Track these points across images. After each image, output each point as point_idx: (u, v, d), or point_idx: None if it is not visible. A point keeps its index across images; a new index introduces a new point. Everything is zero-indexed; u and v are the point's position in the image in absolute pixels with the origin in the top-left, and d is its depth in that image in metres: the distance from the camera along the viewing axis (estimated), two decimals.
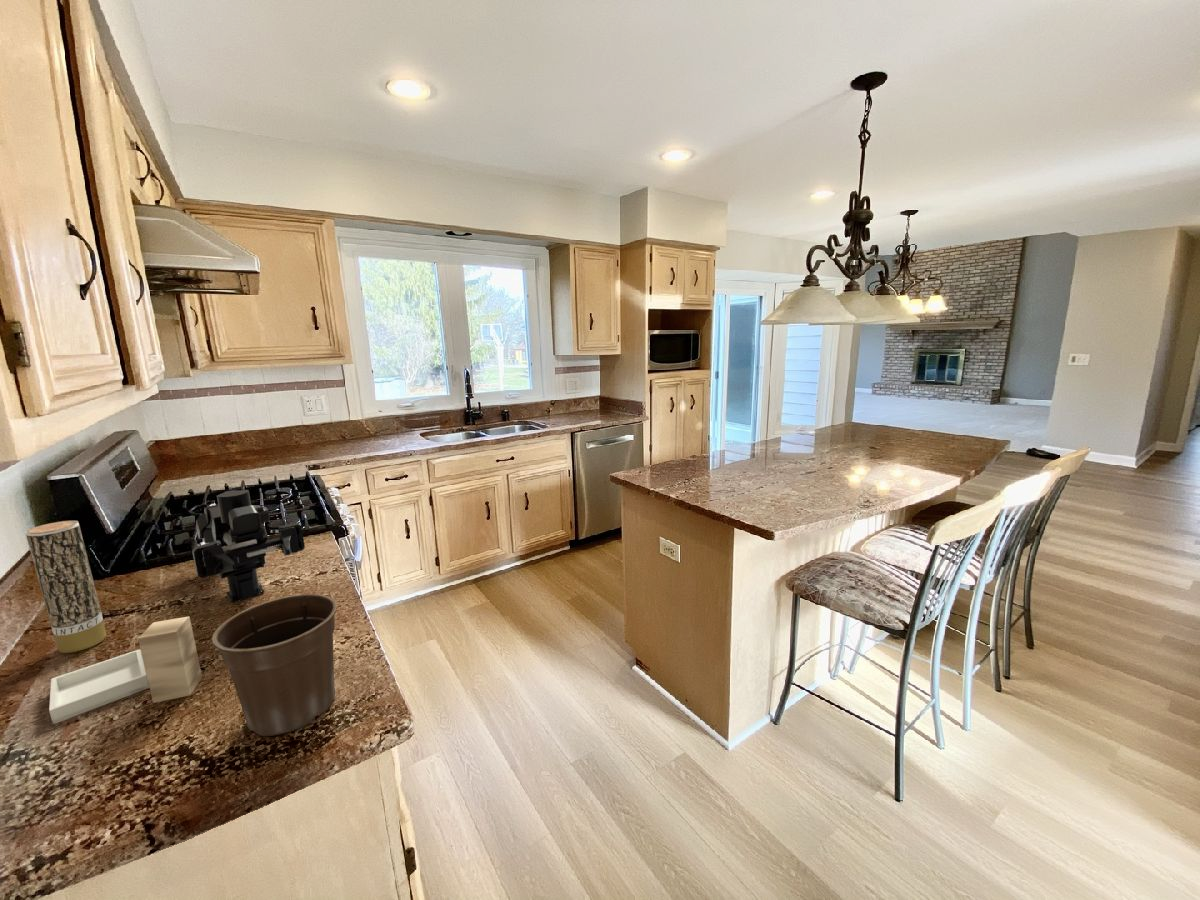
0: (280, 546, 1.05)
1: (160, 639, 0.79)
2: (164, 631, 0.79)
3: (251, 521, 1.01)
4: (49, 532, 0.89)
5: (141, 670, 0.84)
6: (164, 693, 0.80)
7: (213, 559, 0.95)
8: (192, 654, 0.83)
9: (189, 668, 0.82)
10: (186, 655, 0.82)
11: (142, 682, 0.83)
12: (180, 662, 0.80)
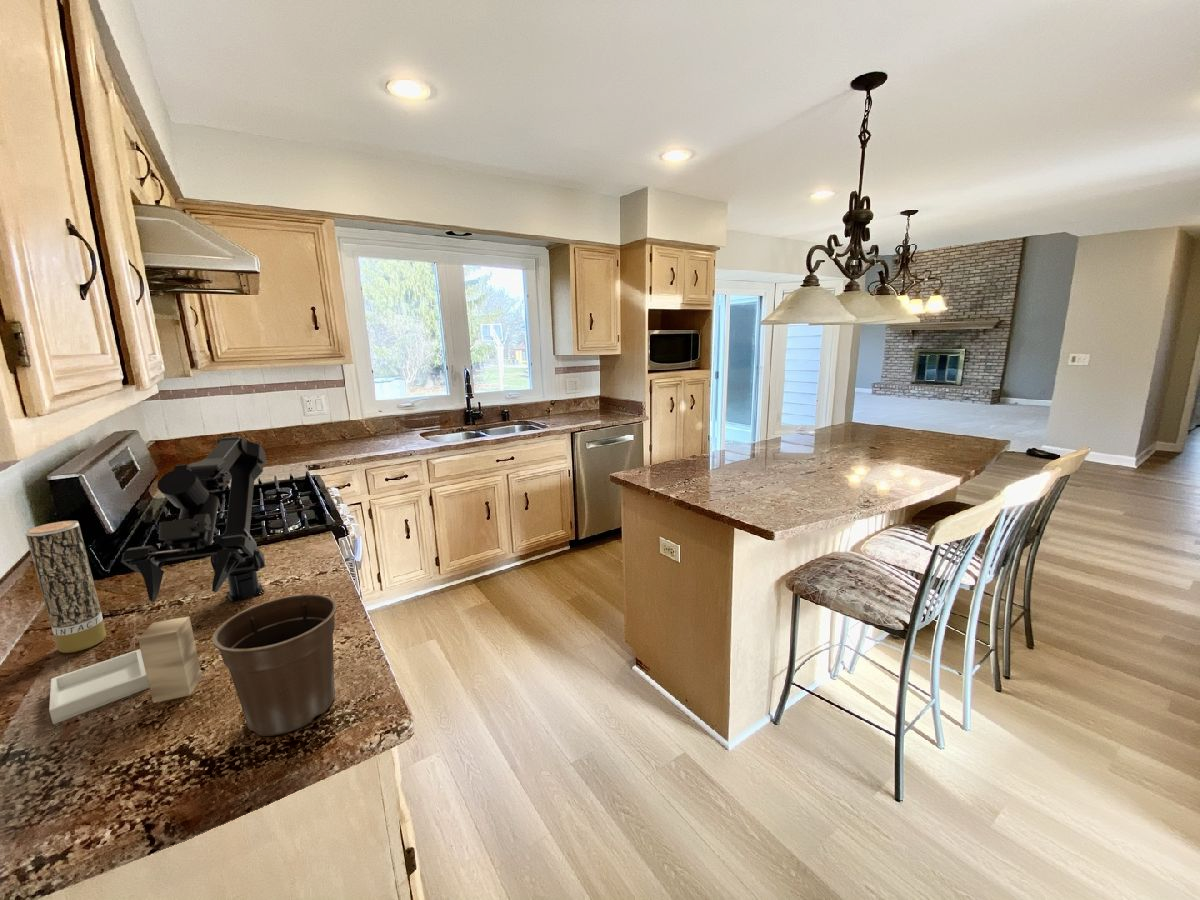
0: None
1: (161, 639, 0.79)
2: (164, 631, 0.79)
3: None
4: (49, 532, 0.89)
5: (141, 670, 0.84)
6: (164, 693, 0.80)
7: None
8: (192, 654, 0.83)
9: (189, 668, 0.82)
10: (186, 655, 0.82)
11: (142, 682, 0.83)
12: (180, 662, 0.80)
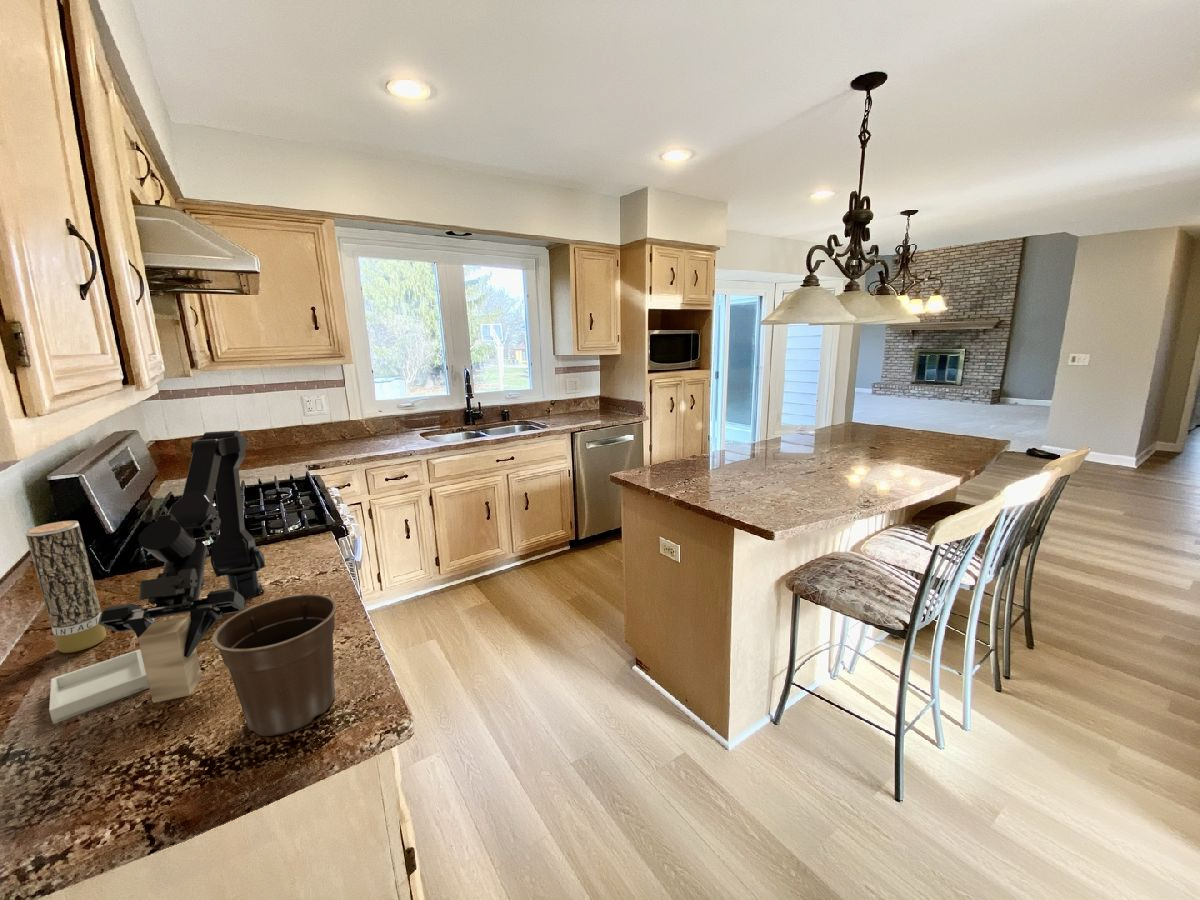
0: None
1: (160, 639, 0.79)
2: (164, 631, 0.79)
3: None
4: (49, 532, 0.89)
5: (141, 670, 0.84)
6: (164, 693, 0.80)
7: None
8: (192, 654, 0.83)
9: (189, 668, 0.82)
10: None
11: (142, 682, 0.83)
12: (180, 662, 0.80)
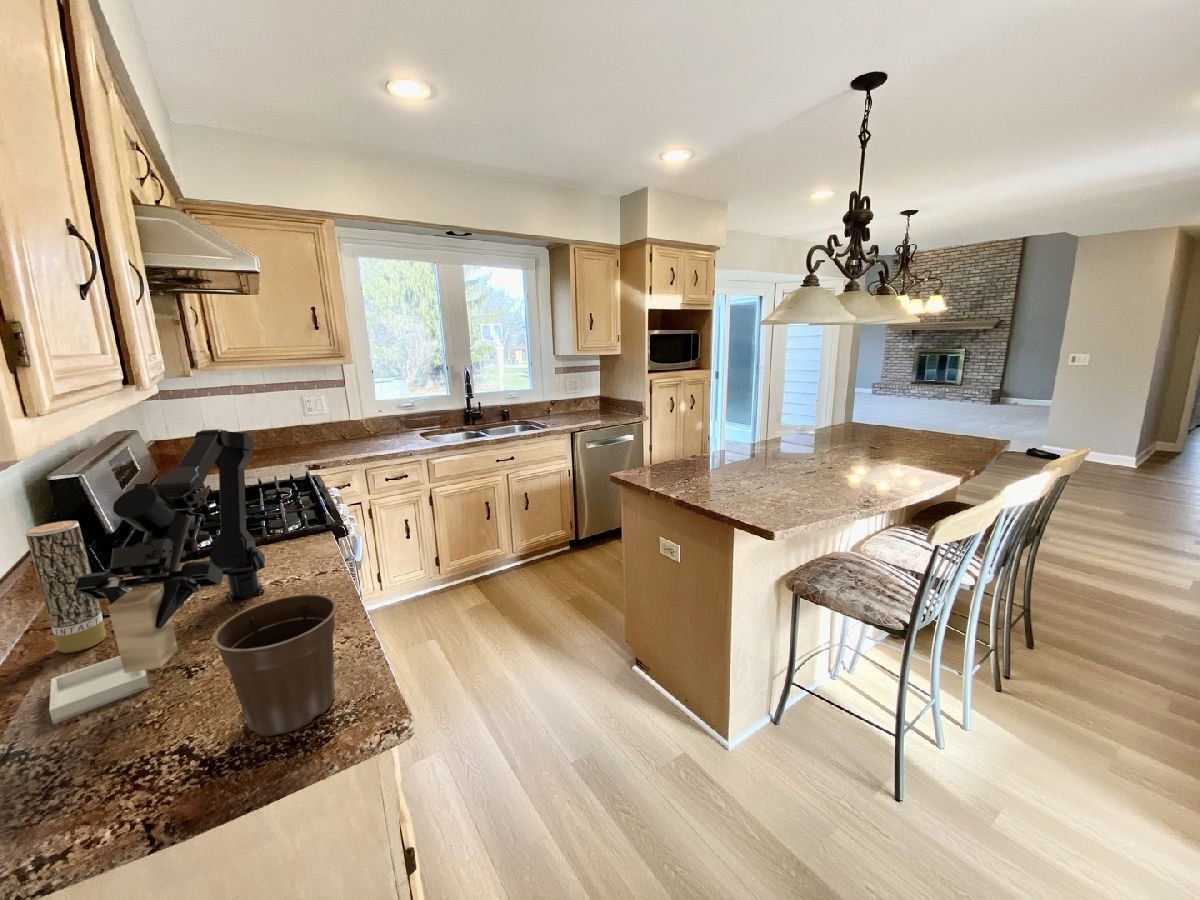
0: None
1: (130, 608, 0.77)
2: (134, 601, 0.78)
3: None
4: (49, 532, 0.89)
5: None
6: (135, 664, 0.79)
7: None
8: (165, 625, 0.82)
9: (161, 640, 0.80)
10: None
11: (142, 682, 0.83)
12: (151, 633, 0.78)
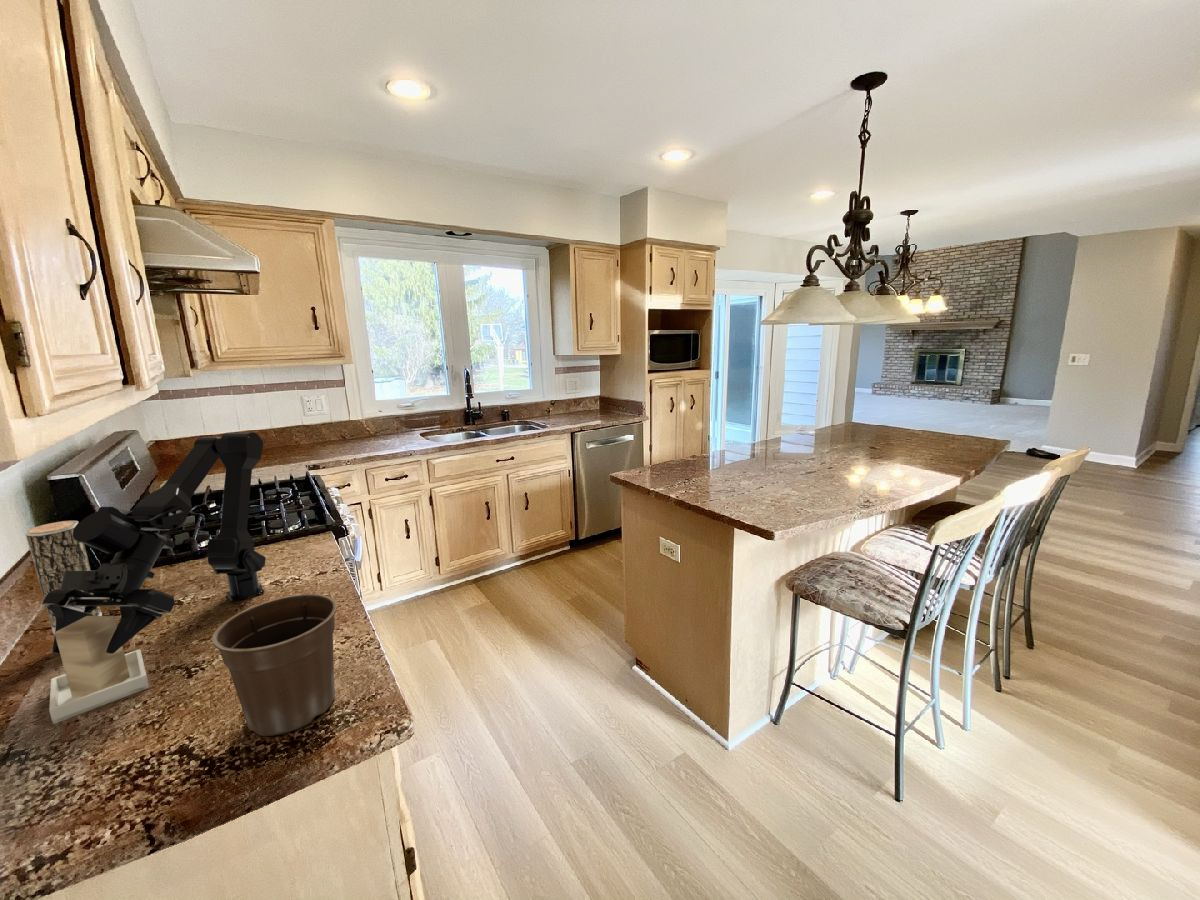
0: None
1: (72, 637, 0.78)
2: (78, 629, 0.79)
3: None
4: (49, 532, 0.89)
5: (141, 670, 0.84)
6: (79, 689, 0.80)
7: None
8: (113, 654, 0.83)
9: (104, 669, 0.81)
10: (101, 655, 0.81)
11: (142, 682, 0.83)
12: (90, 663, 0.79)
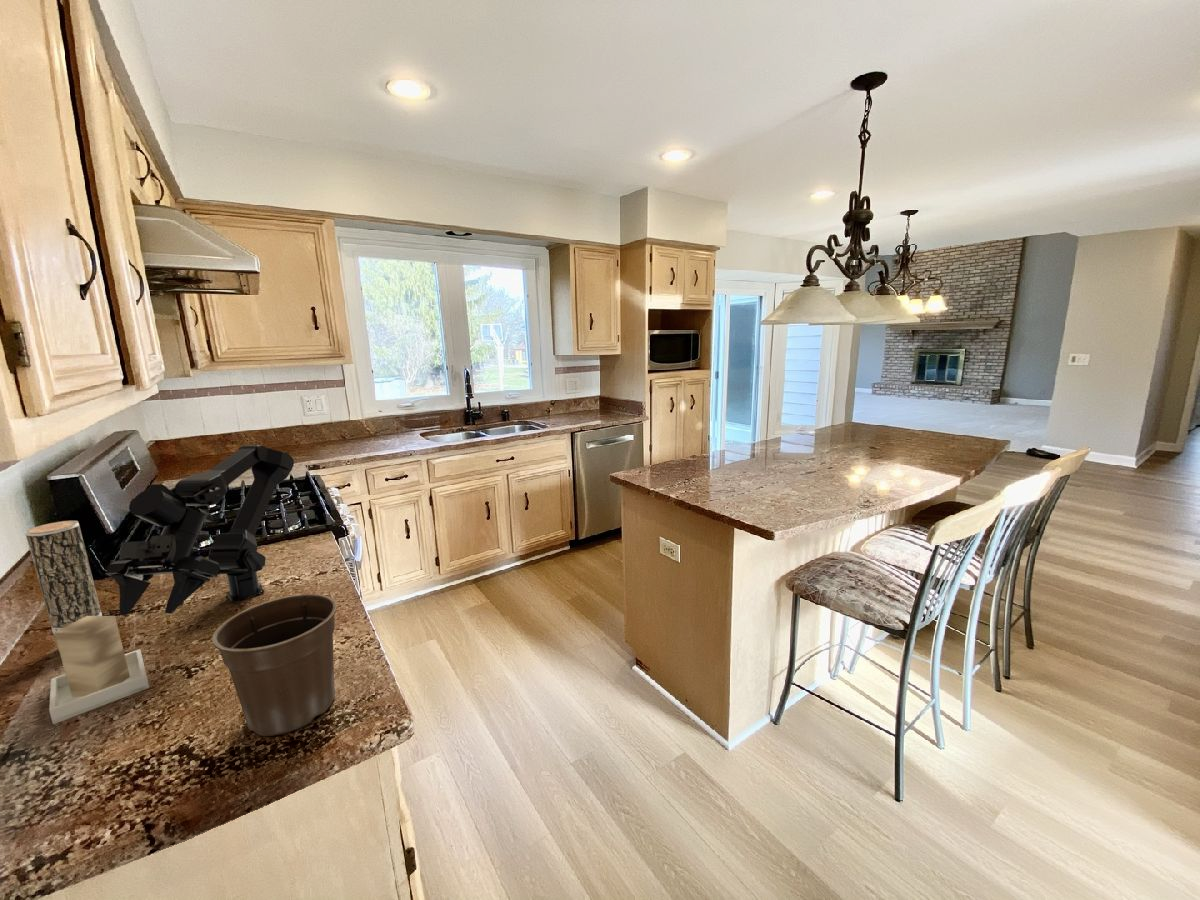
0: None
1: (72, 637, 0.78)
2: (78, 629, 0.79)
3: None
4: (49, 532, 0.89)
5: (141, 670, 0.84)
6: (79, 689, 0.80)
7: None
8: (113, 654, 0.83)
9: (104, 669, 0.81)
10: (101, 655, 0.81)
11: (142, 682, 0.83)
12: (90, 663, 0.79)
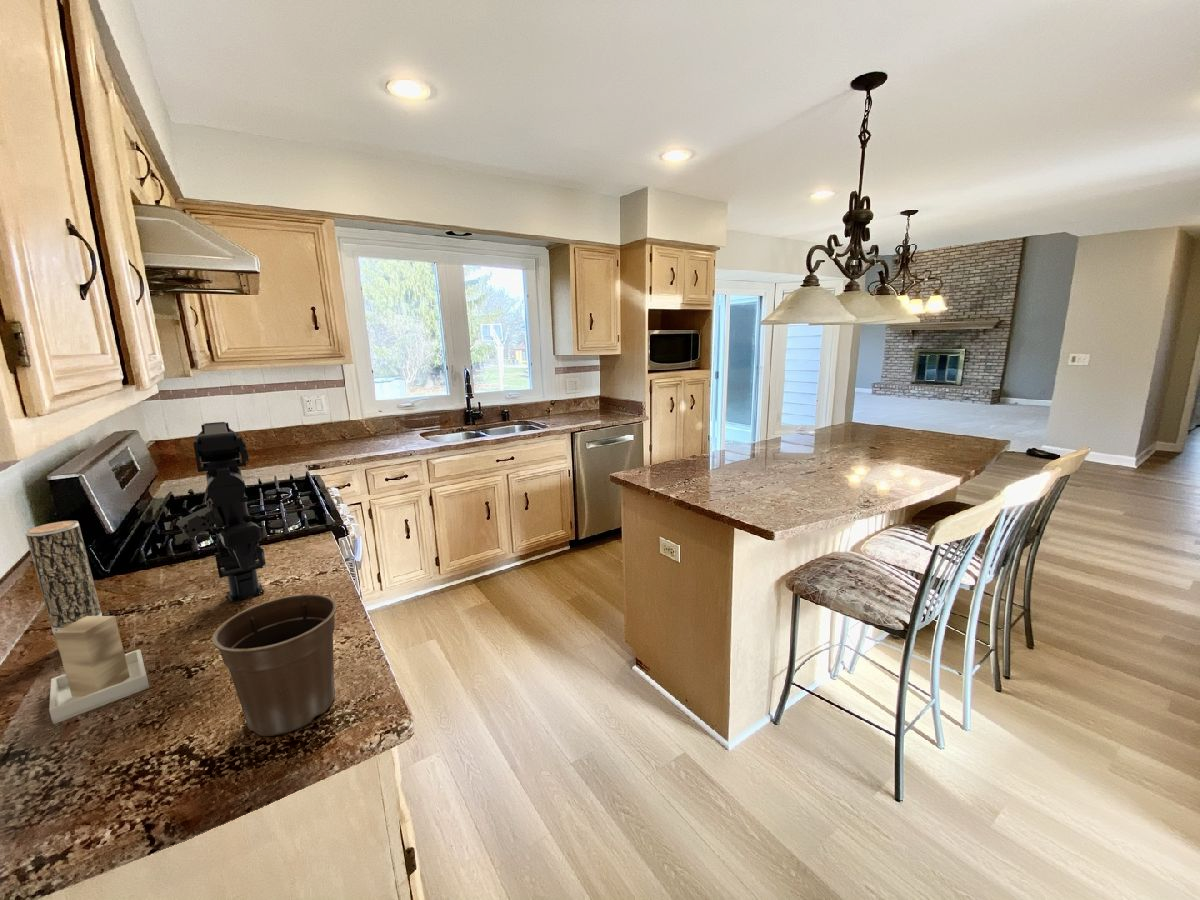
0: None
1: (72, 637, 0.78)
2: (78, 629, 0.79)
3: None
4: (49, 532, 0.89)
5: (141, 670, 0.84)
6: (79, 689, 0.80)
7: None
8: (113, 654, 0.83)
9: (104, 669, 0.81)
10: (101, 655, 0.81)
11: (142, 682, 0.83)
12: (90, 663, 0.79)
